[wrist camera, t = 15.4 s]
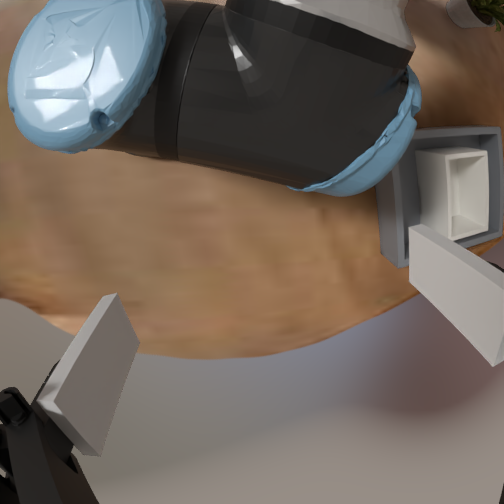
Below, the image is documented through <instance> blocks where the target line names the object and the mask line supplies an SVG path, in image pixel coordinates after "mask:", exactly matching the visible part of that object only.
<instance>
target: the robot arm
mask: <svg viewBox="0 0 504 504" xmlns="http://www.w3.org/2000/svg"><path fill="white" fill-rule="evenodd" d="M408 1H409V0H227V1H226V5H225V6H222V5H218V4H210V3H203V2H194V1H185V0H50V1H49V2H48V3H47V4H46V6H45V7H44V8H43V10H42V11H41V12H39V13H38V14H37V15H35V16H34V18H33V19H32V20H31V22H30V23H29V25H28V26H27V27H26V29H25V31H24V32H23V34H22V36H21V38H20V40H19V42H18V44H17V47H16V49H15V52H14V55H13V58H12V61H11V65H10V70H9V76H8V101H9V106H10V109H11V111H12V112H13V113H14V116H15V122H16V125H17V127H18V128H19V130H20V131H21V133H22V134H23V135H24V136H25V137H26V138H27V139H28V140H29V141H31V142H32V143H34V144H35V145H37V146H39V147H41V148H44V149H47V150H53V151H59V152H62V153H68V154H75V153H78V152H80V151H87V150H88V149H107V150H115V151H121V152H126V153H128V154H131V155H135V156H141V157H160V158H166V159H172V160H177V161H180V162H183V163H188V164H193V165H198V166H203V167H208V168H213V169H218V170H222V171H227V172H231V173H236V174H240V175H245V176H249V177H253V178H258V179H262V180H266V181H270V182H274V183H278V184H282V185H285V186H286V187H288V188H290V189H292V190H295V191H304V192H309V191H314V192H318V193H323V194H327V195H332V196H337V197H344V196H352V195H356V194H359V193H361V192H364V191H366V190H368V189H369V188H371V187H373V186H374V185H375V184H377V183H378V182H379V181H381V180H382V179H383V178H384V177H385V176H386V175H387V174H388V173H389V172H390V171H391V170H392V169H393V167H394V166H395V165H396V164H397V163H398V161H399V160H400V158H401V157H402V155H403V154H404V152H405V151H406V149H407V147H408V145H409V143H410V141H411V139H412V137H413V135H414V132H415V129H416V126H417V122H416V120H415V119H414V118H413V117H414V116H415V114H416V113H417V112H419V111H420V110H421V102H422V93H421V87H420V84H419V81H418V78H417V76H416V75H415V73H414V72H413V71H412V69H411V68H410V66H409V65H408V63H409V61H410V59H411V57H412V55H413V53H414V51H415V48H416V45H415V42H414V40H413V37H412V35H411V32H410V30H409V27H408V25H407V23H406V20H405V14H404V10H405V8H406V5H407V3H408ZM409 282H410V283H411V284H412V285H413V286H414V287H415V288H416V289H417V290H418V291H420V292H421V293H422V294H423V295H424V296H425V297H426V298H427V299H428V300H429V301H430V302H431V303H432V304H433V305H434V306H435V307H436V308H437V309H438V310H439V311H440V312H441V313H443V315H444V316H445V317H446V318H447V319H448V320H449V321H450V322H451V323H452V324H453V325H454V326H455V327H456V328H457V329H458V330H459V331H460V332H461V333H462V334H463V335H464V336H465V337H466V338H467V339H468V340H469V341H470V343H472V345H474V347H475V348H476V349H477V350H478V351H479V352H480V353H481V354H482V355H483V357H484V358H485V359H486V360H487V361H488V362H489V363H490V364H491V365H492V366H493V367H494V366H495V365H497V364H499V363H500V362H502V361H504V269H502V268H501V267H499V266H498V265H496V264H494V263H490V262H488V261H485V260H483V259H481V258H480V257H478V256H477V255H475V254H473V253H472V252H470V251H468V250H467V249H465V248H463V247H462V246H460V245H458V244H457V243H455V242H453V241H452V240H450V239H448V238H446V237H445V236H443V235H441V234H440V233H438V232H436V231H434V230H432V229H431V228H429V227H427V226H425V225H423V224H419V225H415V226H411V227H409ZM139 344H140V342H139V340H138V338H137V336H136V333H135V331H134V329H133V327H132V325H131V323H130V321H129V318H128V316H127V314H126V312H125V310H124V307H123V305H122V303H121V300H120V298H119V296H118V293H115V294H111V295H106V296H103V297H102V299H101V300H100V301H99V303H98V304H97V306H96V307H95V309H94V310H93V311H92V313H91V314H90V316H89V317H88V319H87V320H86V322H85V323H84V325H83V326H82V328H81V329H80V331H79V332H78V334H77V335H76V337H75V338H74V340H73V341H72V343H71V344H70V346H69V347H68V349H67V350H66V352H65V354H64V355H63V357H62V358H61V359H60V360H59V361H58V362H57V363H56V364H55V365H54V366H53V368H52V370H51V371H50V373H49V376H47V378H46V379H45V381H44V382H45V383H43V384H42V386H41V388H40V389H39V391H38V393H37V394H36V396H35V398H34V400H33V402H32V403H31V405H29V404H28V402H27V401H26V400H25V398H24V397H23V396H22V394H21V393H20V392H19V390H18V389H17V388H15V387H9V388H6V389H4V390H2V391H1V392H0V420H1V422H2V423H3V424H0V468H1V469H2V470H4V471H5V472H6V477H5V478H4V477H2V475H0V504H99V502H98V501H97V499H96V497H95V495H94V493H93V491H92V490H91V488H90V486H89V484H88V482H87V480H86V478H85V476H84V474H83V471H82V469H81V468H80V465H79V463H78V461H77V458H76V457H75V456H74V455H73V454H72V453H71V451H72V448H73V445H74V446H75V447H76V448H77V449H78V450H79V451H80V452H81V453H82V454H83V455H90V456H101V454H102V450H103V447H104V444H105V441H106V437H107V434H108V431H109V428H110V425H111V422H112V419H113V416H114V413H115V409H116V407H117V404H118V401H119V398H120V395H121V392H122V390H123V387H124V384H125V381H126V378H127V376H128V373H129V370H130V368H131V365H132V362H133V360H134V357H135V354H136V352H137V349H138V346H139ZM499 504H504V485H503V490H502V494H501V498H500V502H499Z"/></svg>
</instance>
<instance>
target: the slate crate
mask: <svg viewBox="0 0 504 504" xmlns="http://www.w3.org/2000/svg"><path fill="white" fill-rule="evenodd" d="M450 146H460V147H467V148H474V149H480V150H486V151H487V156H488V174H489V221H488V231H484V232H481V233H478V234H475V235H471V236H468V237H465V238H461V239H458V240H454V241H453V242H455V243H457V244H458V245H460V246H462V247H463V248H468V247H471V246H474V245H477V244H480V243H483V242H486V241H489V240H492V239H495V238H498V237H501V236H502V232H503V214H504V167H503V150H502V138H501V128H500V127H495V126H483V125H465V126H443V127H428V128H416V129H415V132H414V135H413V137H412V139H411V141H410V143H409V145H408V147H407V149H406V151H405V152H404V154H403V155H402V157H401V158H400V160H399V161H398V163H397V164H396V165H395V166H394V167H393V169H392V170H391V171H390V172H389V173H388V174H387V175H386V176H385V177H384V178H383V179H382V180H381V181H379V182H378V183H377V184H375V189H376V198H377V208H378V219H379V232H380V247H381V254H382V255H383V256H385V257H386V258H387V259H388V260H389V261H390V262H391V263H393V264H394V265H395V266H396V267H397V268H402V267H405V266H409V227H411V226H415V225H419V224H420V204H419V189H418V177H417V166H416V157H415V150H422V149H430V148H440V147H450Z"/></svg>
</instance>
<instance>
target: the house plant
mask: <svg viewBox="0 0 504 504" xmlns="http://www.w3.org/2000/svg"><path fill="white" fill-rule="evenodd" d="M503 4H504V0H450V1H449V2H448V3H447V5H446V9H447V13H448V15H449V17H450V18H451V20H452V21H453V22H454V23H455V24H456V25H458V26H460V27H462V28H475V27H493V26H494V25H495V23H496V26H497V28H496V31H500V30H501V27H500V25H499V23H498V21H497V20H499V21H500V22H501V23H502V24H503V25H504V6H503V7H499V6H501V5H503ZM496 19H497V20H496ZM496 31H495V32H496Z"/></svg>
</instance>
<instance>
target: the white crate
mask: <svg viewBox="0 0 504 504" xmlns="http://www.w3.org/2000/svg"><path fill="white" fill-rule="evenodd" d="M415 157H416V166H417V177H418V189H419V204H420V224H423V225H425V226H427V227H429V228H431V229H432V230H434V231H436V232H438V233H440V234H441V235H443V236H445V237H446V238H448V239H450V240H452V241H454V240H458V239H461V238H465V237H468V236H471V235H475V234H478V233H481V232H484V231H488V221H489V174H488V156H487V151H486V150H480V149H474V148H467V147H460V146H450V147H440V148H430V149H422V150H415Z"/></svg>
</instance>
